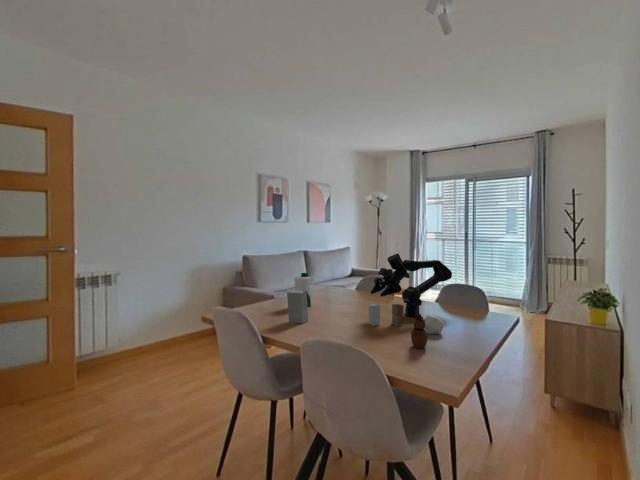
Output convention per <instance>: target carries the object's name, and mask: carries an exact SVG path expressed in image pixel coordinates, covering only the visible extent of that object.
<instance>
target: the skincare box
mask: <svg viewBox="0 0 640 480" xmlns="http://www.w3.org/2000/svg"><path fill="white" fill-rule="evenodd" d="M286 294H287V295H286V296H287V297H286V299H287V311H288V312H287V314H288V323H291V324H304V323H307V322H308V321H309V312H308V311H309V310H308V307H307V292H306V291H302V290H295V289H293V290H290V291H288V292H287V293H286Z"/></svg>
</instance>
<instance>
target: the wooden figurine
mask: <svg viewBox="0 0 640 480" xmlns="http://www.w3.org/2000/svg"><path fill="white" fill-rule="evenodd" d="M412 324H413V328H412V330H411V333H410V338H411V344H412V346H413V347H415V348H416V349H424V348H426V346H427V343H428V332H427V331H426V329H425V319H424V318H423V316H422V314H420V310H419V311H418V313H417V309H416V315H415V317H414V320H413V322H412Z"/></svg>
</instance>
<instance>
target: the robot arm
mask: <svg viewBox="0 0 640 480" xmlns="http://www.w3.org/2000/svg"><path fill="white" fill-rule="evenodd" d="M386 261H387V262H388V264H389V266H390V268H388V269H387V268H385V267H381V268H380V270H379V271H378V275H380V276H382V278H381V277H375V278H374V279H373V281H374V285H373V287H372V289H371V290H370V294H371V295H374V294H376V293H379V292H381V293H380V297H384V296H385V297H386V296H389V295H390V296H391V295H393V294H399V293H400V292H401V291H402V290H403V289H402V286H401V283H402V282H401V281H402V280H403V279H410V273H409V272H411V273H412V272H416V271H419V270H420V269H429V268H430V269H431V268H432V270H433V272H434V273H433V275H432V276H431V277H429V278H428V279H426V280H424V281H423V282H421V283H420V284H418V285H417V286H410V285H409V286H408V287H407V288H405V289H404V290H403V291H402V293H401V298H402V300H403V303H404V304H405V306H404V308H405V310H404V311H405V313H404V316H407V317H409V318H415V315H416V309H417V313H418V311H419V312H420V306H422V303H423V301H422V299H421V296H422V295H423V294H424V293H426V292H427V291H429V290H430V289H431V288H433V287H434V286H436V285H438V284H439V283H442V282H446V281H448V280H451V279H452V277H453V272H452V270H451V269H450V268H449V267H447V266H446V265H445V264H444V263H443V262H442V261H441V260H439V259H432V260H431V259H429V260H417V261H416V260H412V259H411V260H410V259H404V260H402V258H401V256H400V254H399V253H395V254H392V255H390V256H388V257H387V259H386ZM393 270H394V271H393Z"/></svg>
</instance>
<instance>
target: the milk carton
mask: <svg viewBox="0 0 640 480" xmlns="http://www.w3.org/2000/svg"><path fill="white" fill-rule="evenodd" d="M308 274H309V273H308V272H302V273H301V274H300V275H299V276H294V277H293V280H294V290H302V291H306V292H307V308H310V307H311V305H312V303H311V302H312V301H311V282H312V276H309V275H308Z"/></svg>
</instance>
